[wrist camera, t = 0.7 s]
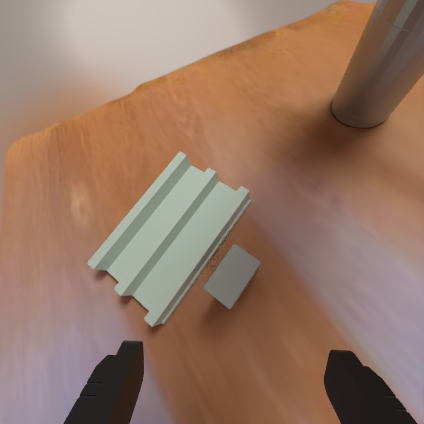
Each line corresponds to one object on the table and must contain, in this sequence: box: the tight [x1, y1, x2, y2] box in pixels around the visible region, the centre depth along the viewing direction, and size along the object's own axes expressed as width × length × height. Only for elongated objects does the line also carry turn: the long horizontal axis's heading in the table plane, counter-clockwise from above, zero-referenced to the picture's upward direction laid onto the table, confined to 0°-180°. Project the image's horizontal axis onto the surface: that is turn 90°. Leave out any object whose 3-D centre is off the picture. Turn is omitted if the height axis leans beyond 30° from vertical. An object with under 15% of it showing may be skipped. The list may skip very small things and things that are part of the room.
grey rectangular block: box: [203, 244, 261, 310], centre depth 25 cm, size 5×3×12 cm, turn 144°
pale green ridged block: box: [88, 152, 251, 327], centre depth 32 cm, size 22×14×4 cm, turn 144°
